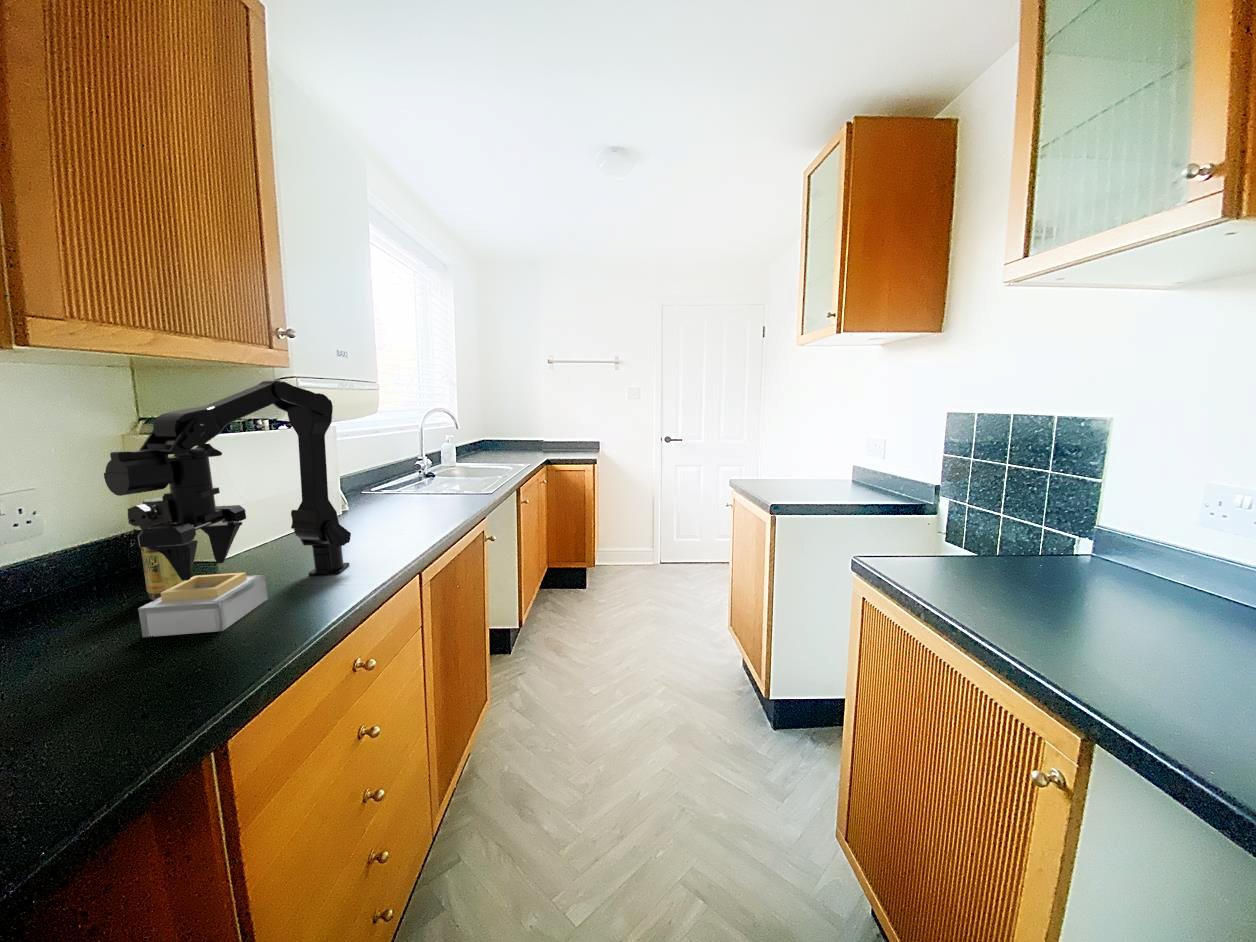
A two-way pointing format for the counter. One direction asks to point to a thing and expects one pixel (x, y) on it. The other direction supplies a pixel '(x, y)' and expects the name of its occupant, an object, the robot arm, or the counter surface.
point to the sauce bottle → (157, 566)
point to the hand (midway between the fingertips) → (204, 571)
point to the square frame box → (203, 604)
